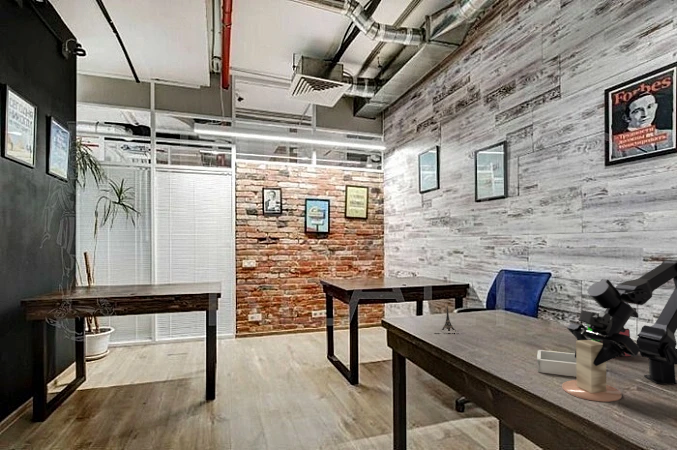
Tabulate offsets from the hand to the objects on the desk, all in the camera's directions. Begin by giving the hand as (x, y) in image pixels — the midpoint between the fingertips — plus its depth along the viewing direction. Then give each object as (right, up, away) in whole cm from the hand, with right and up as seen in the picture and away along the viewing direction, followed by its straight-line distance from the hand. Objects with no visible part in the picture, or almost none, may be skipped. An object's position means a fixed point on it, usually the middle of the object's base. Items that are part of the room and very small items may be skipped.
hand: (585, 361), depth 108 cm
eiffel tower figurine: (-17, -13, +74) cm, 77 cm away
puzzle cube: (+32, -9, +34) cm, 48 cm away
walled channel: (+5, -9, +18) cm, 21 cm away
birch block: (+2, -8, 0) cm, 8 cm away
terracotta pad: (+2, -8, 0) cm, 9 cm away
